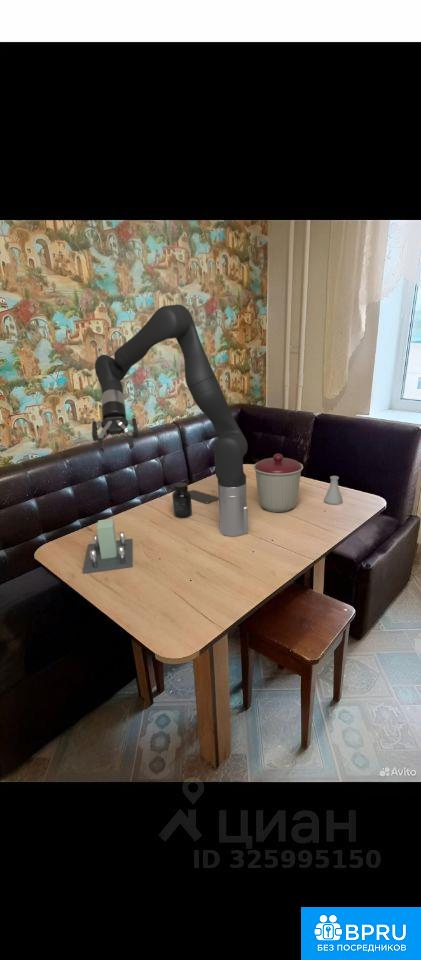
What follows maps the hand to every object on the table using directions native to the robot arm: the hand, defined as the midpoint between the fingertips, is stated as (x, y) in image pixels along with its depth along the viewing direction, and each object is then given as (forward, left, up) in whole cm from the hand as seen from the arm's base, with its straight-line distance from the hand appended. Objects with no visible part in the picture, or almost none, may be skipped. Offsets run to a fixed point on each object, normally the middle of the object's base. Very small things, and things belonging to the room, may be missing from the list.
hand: (116, 449), depth 127 cm
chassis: (+3, +13, -31) cm, 33 cm away
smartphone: (-24, -33, -31) cm, 52 cm away
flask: (-76, -22, -31) cm, 85 cm away
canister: (-54, -19, -31) cm, 65 cm away
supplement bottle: (-18, -16, -31) cm, 39 cm away
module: (+3, +13, -29) cm, 32 cm away
